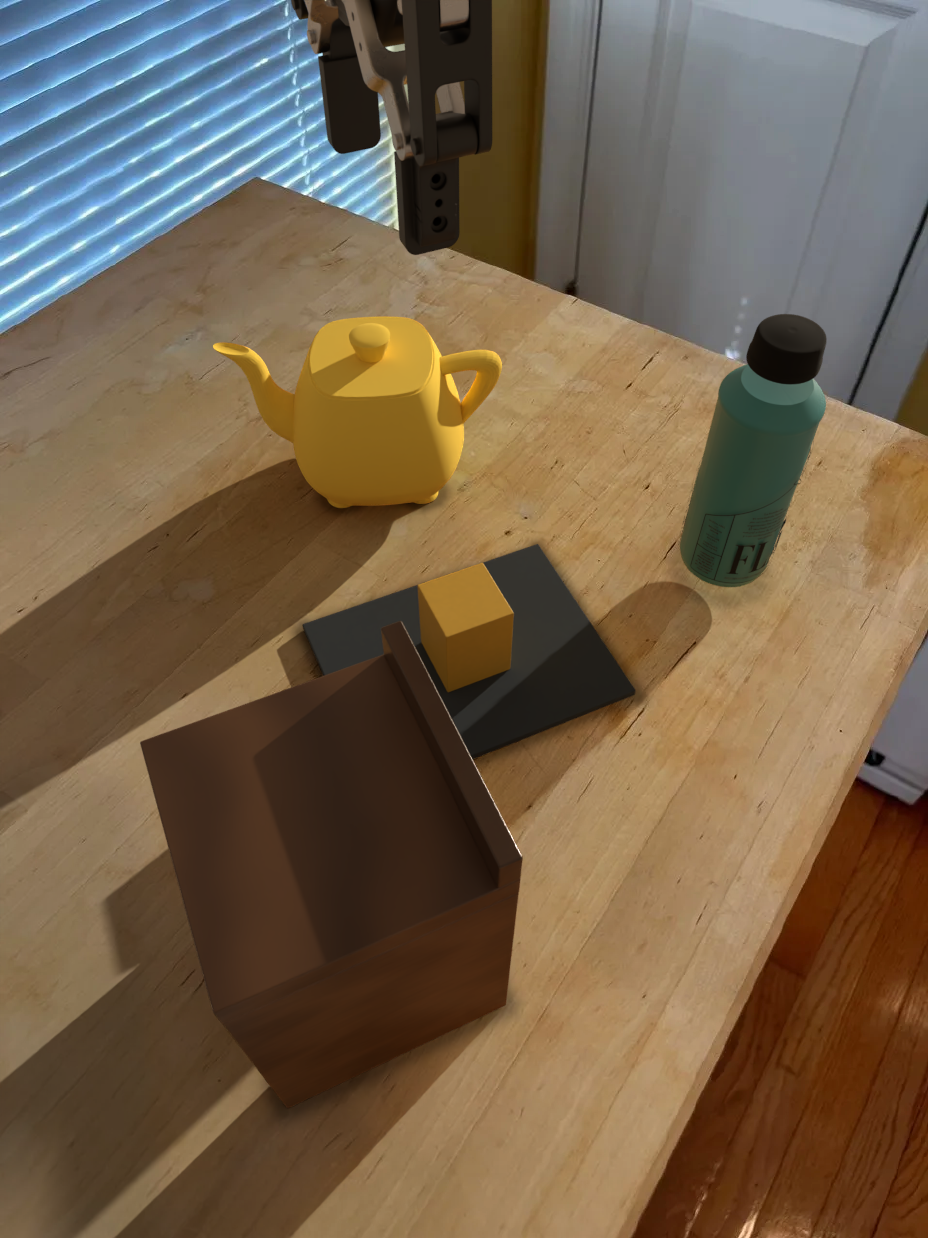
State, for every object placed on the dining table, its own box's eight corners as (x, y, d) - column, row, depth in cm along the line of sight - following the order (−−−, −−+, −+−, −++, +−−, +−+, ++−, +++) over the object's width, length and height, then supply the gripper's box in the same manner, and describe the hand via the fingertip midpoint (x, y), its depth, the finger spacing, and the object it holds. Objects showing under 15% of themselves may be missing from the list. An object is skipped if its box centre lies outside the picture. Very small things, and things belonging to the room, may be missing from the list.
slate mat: (375, 798, 57) (375, 793, 56) (303, 629, 64) (301, 623, 64) (635, 695, 61) (636, 690, 61) (537, 548, 69) (538, 543, 68)
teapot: (251, 417, 78) (219, 283, 68) (491, 406, 79) (494, 272, 69) (238, 536, 70) (200, 404, 60) (506, 522, 70) (513, 389, 61)
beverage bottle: (714, 617, 65) (793, 383, 49) (653, 556, 68) (709, 319, 52) (783, 579, 67) (881, 342, 51) (721, 522, 70) (794, 283, 55)
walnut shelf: (287, 1109, 46) (200, 997, 31) (222, 893, 53) (125, 716, 38) (506, 1005, 49) (523, 857, 34) (419, 813, 56) (401, 619, 41)
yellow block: (447, 693, 60) (446, 637, 56) (420, 641, 63) (417, 584, 58) (510, 669, 62) (514, 613, 57) (481, 619, 64) (482, 561, 59)
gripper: (158, -405, 29) (253, 136, 42) (299, -331, 21) (363, 310, 34) (388, -417, 31) (411, 104, 43) (599, -354, 23) (550, 262, 35)
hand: (390, 194), depth 38 cm, fingers open, 8 cm apart
